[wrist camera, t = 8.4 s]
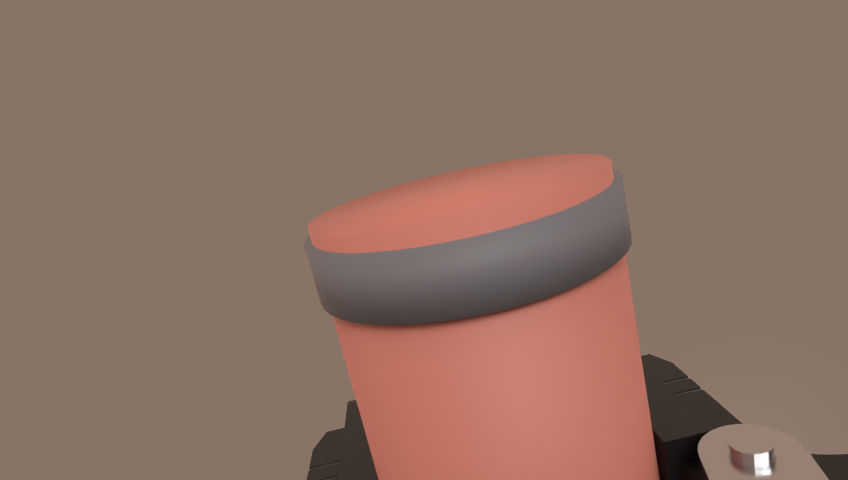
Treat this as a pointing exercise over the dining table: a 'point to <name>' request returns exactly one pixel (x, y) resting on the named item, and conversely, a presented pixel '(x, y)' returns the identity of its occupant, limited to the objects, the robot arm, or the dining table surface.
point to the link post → (491, 323)
